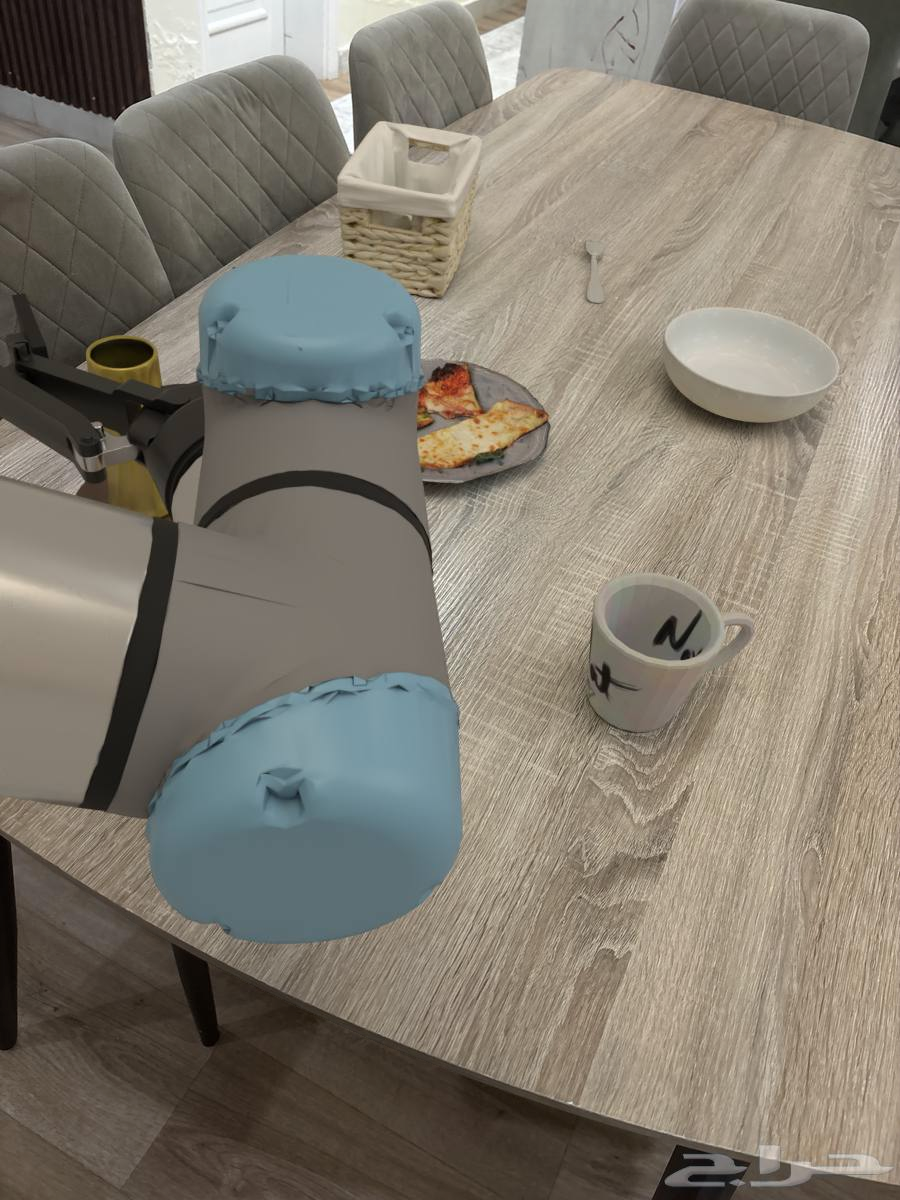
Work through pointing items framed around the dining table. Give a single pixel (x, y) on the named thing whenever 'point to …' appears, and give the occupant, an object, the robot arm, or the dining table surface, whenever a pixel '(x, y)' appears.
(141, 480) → the vase
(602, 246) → the fork
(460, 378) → the food plate
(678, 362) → the serving bowl
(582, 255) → the dining table surface
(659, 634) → the mug
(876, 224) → the dining table surface
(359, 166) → the basket
